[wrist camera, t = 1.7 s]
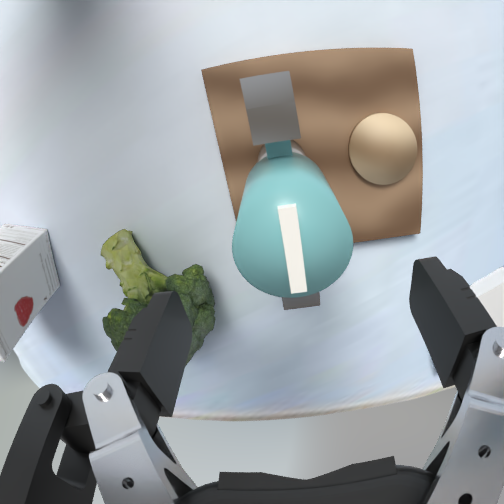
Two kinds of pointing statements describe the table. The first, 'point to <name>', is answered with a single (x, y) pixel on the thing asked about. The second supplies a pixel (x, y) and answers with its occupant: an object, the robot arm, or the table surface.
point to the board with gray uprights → (329, 130)
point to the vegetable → (154, 291)
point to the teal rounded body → (290, 226)
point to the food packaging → (492, 294)
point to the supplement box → (23, 280)
